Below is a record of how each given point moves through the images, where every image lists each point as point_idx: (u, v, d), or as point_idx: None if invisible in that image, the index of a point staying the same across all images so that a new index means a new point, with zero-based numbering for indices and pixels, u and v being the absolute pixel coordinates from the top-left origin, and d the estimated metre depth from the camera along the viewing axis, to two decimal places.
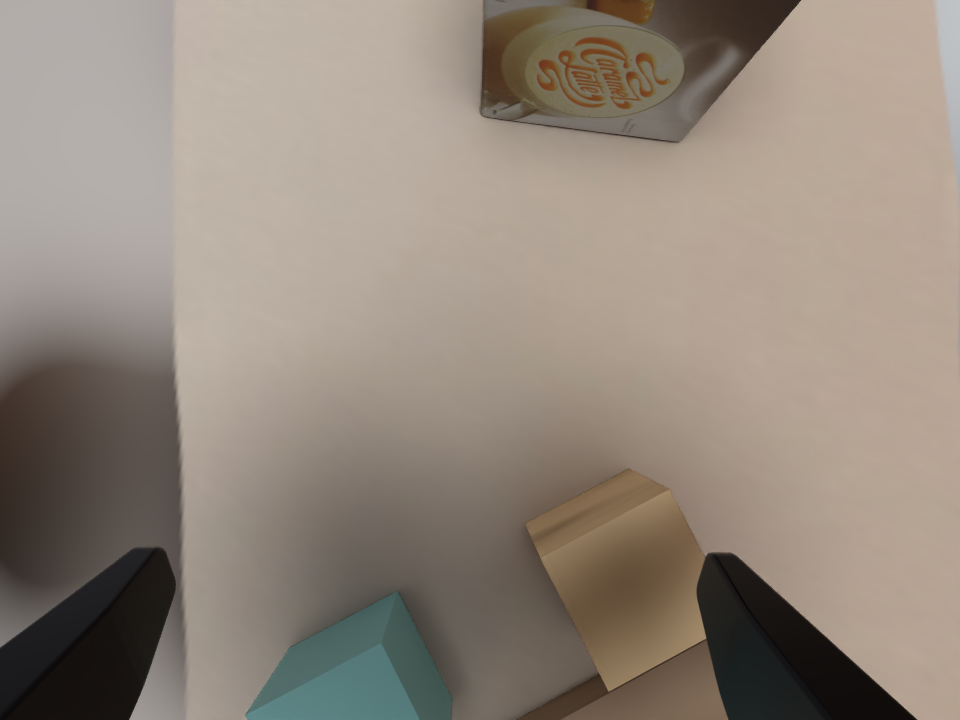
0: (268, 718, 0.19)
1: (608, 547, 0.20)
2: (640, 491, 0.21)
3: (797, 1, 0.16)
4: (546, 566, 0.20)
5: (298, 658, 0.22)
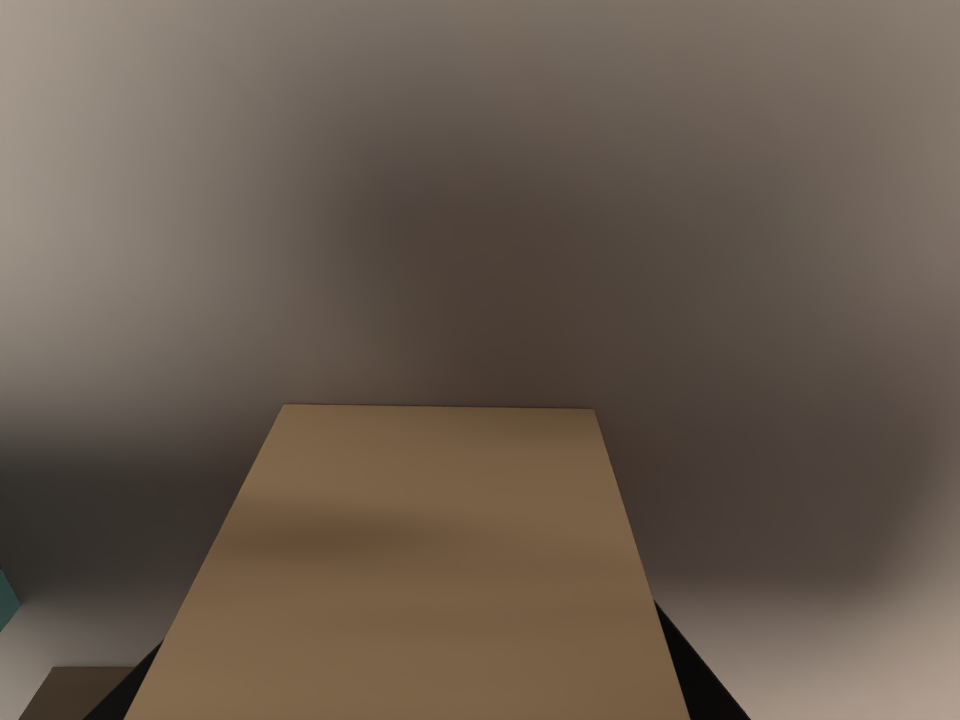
0: None
1: None
2: (591, 599, 0.06)
3: None
4: None
5: None
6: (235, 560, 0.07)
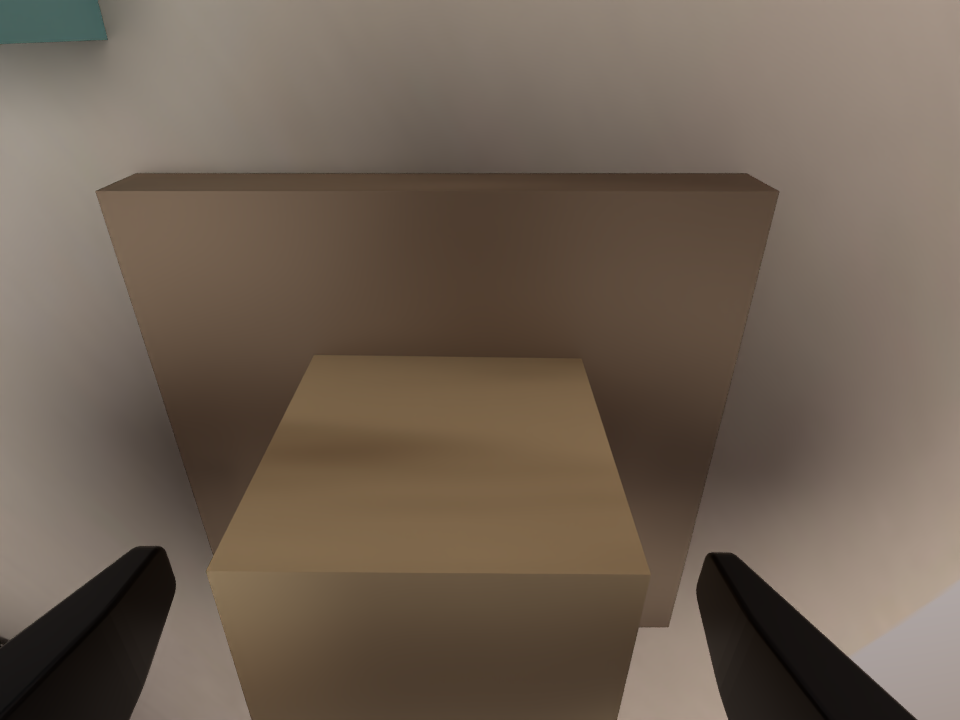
0: None
1: (407, 616, 0.07)
2: (573, 490, 0.08)
3: None
4: (216, 593, 0.07)
5: None
6: (284, 464, 0.08)
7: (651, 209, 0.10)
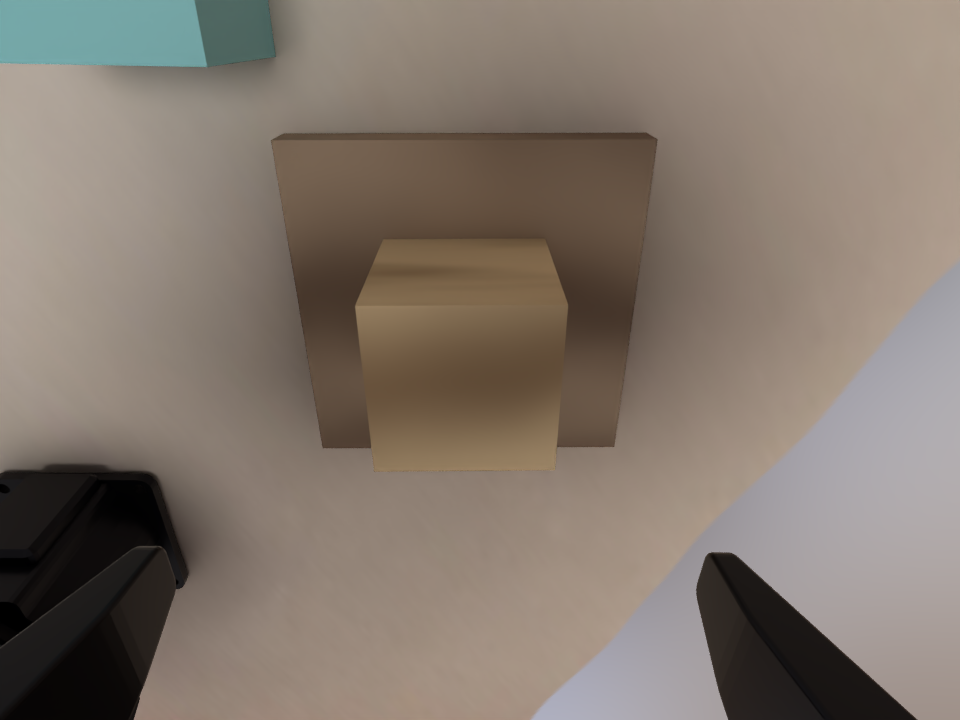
0: None
1: (450, 334, 0.14)
2: (534, 282, 0.15)
3: None
4: (358, 319, 0.14)
5: None
6: (380, 276, 0.15)
7: (585, 150, 0.17)
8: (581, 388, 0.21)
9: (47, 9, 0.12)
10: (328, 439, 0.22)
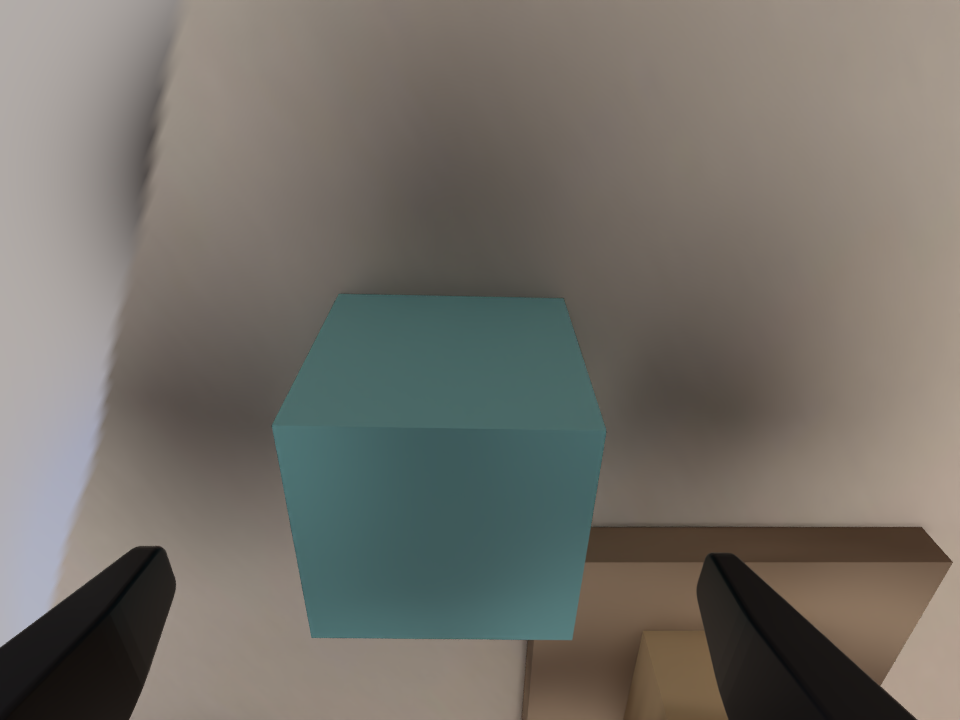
0: (316, 449, 0.09)
1: None
2: None
3: None
4: None
5: (371, 335, 0.11)
6: None
7: (873, 570, 0.16)
8: None
9: (414, 604, 0.11)
10: None
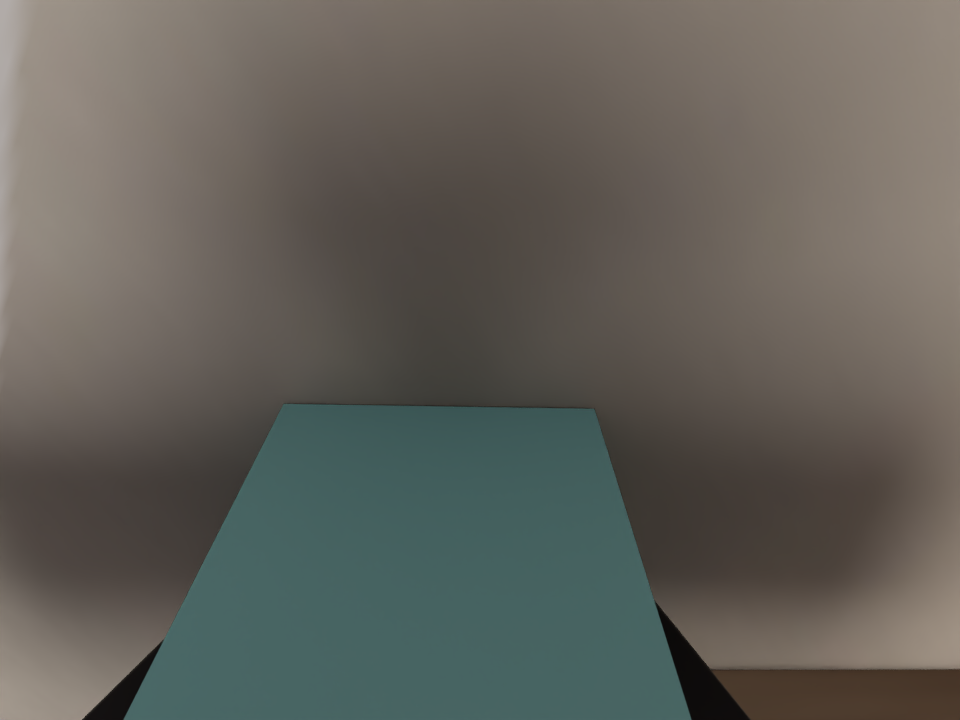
0: None
1: None
2: None
3: None
4: None
5: (318, 493, 0.08)
6: None
7: None
8: None
9: None
10: None
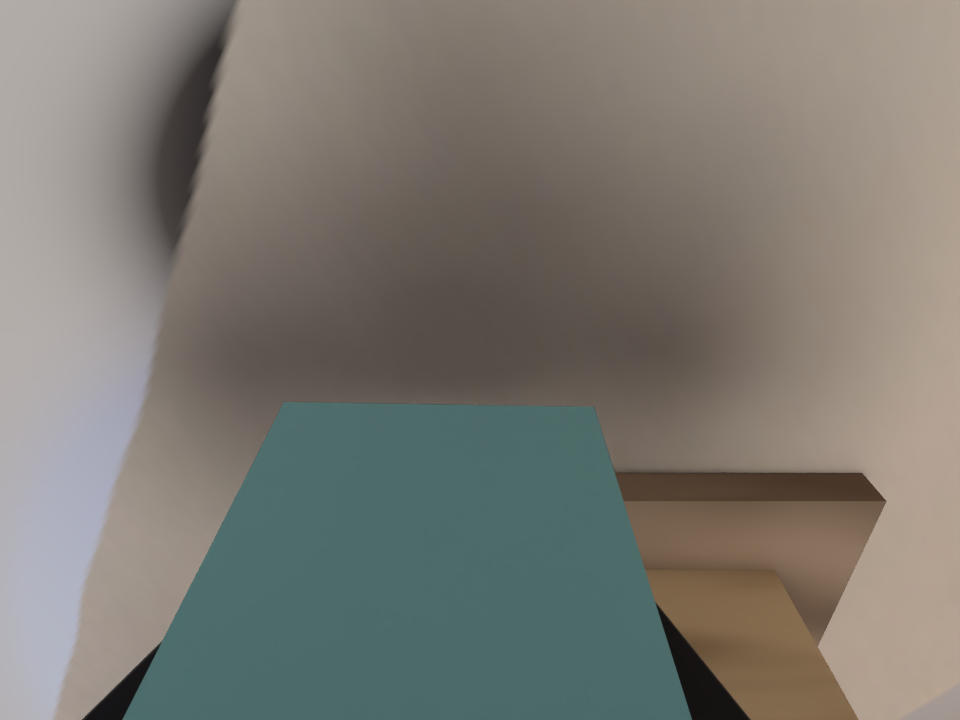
0: None
1: None
2: (809, 674, 0.16)
3: None
4: None
5: (318, 491, 0.08)
6: None
7: (818, 508, 0.18)
8: None
9: None
10: None
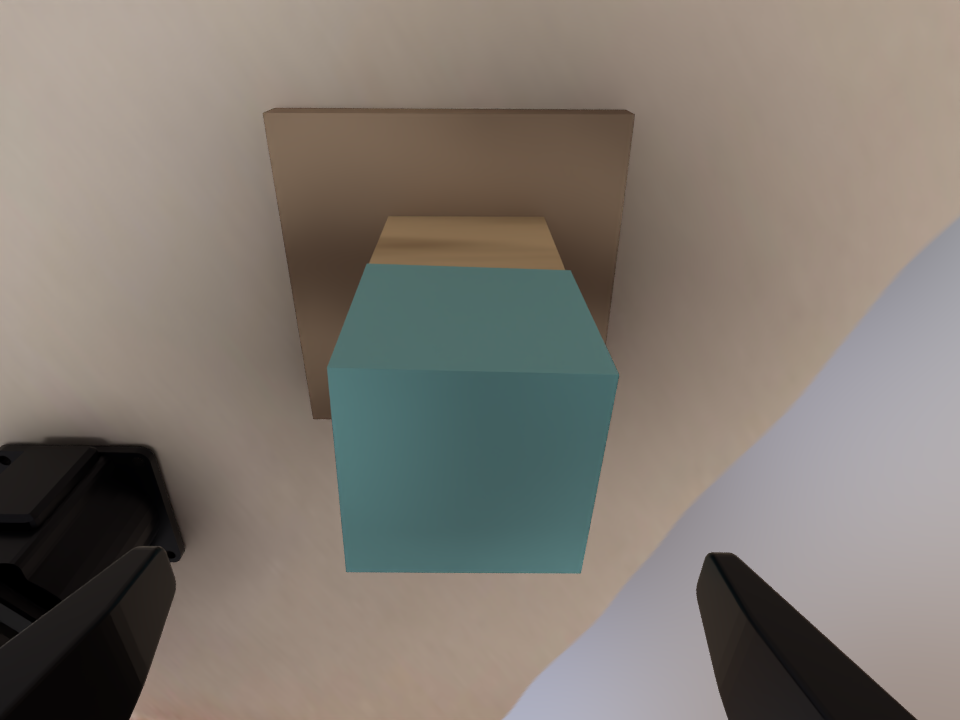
0: (364, 390, 0.10)
1: None
2: (534, 254, 0.16)
3: None
4: None
5: (402, 298, 0.12)
6: (388, 248, 0.16)
7: (566, 124, 0.17)
8: None
9: (441, 539, 0.12)
10: (318, 410, 0.22)
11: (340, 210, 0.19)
